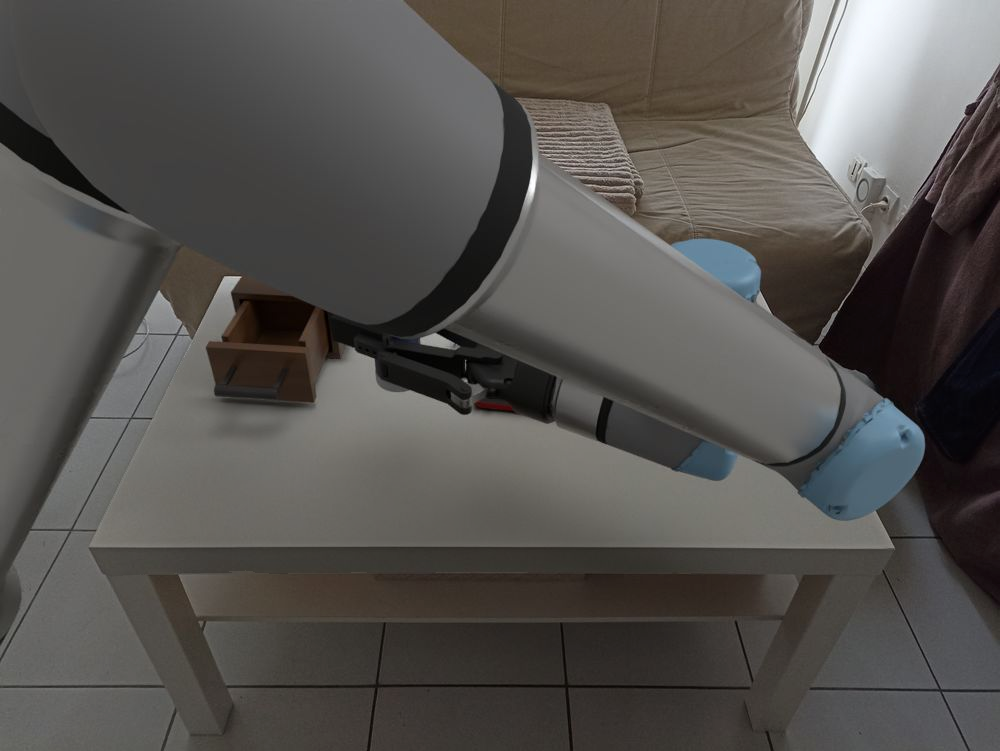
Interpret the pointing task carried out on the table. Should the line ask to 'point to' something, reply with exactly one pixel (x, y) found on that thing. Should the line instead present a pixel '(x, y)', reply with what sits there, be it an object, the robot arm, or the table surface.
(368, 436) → the table surface
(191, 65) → the robot arm
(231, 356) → the drawer
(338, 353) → the cabinet
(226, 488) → the table surface
